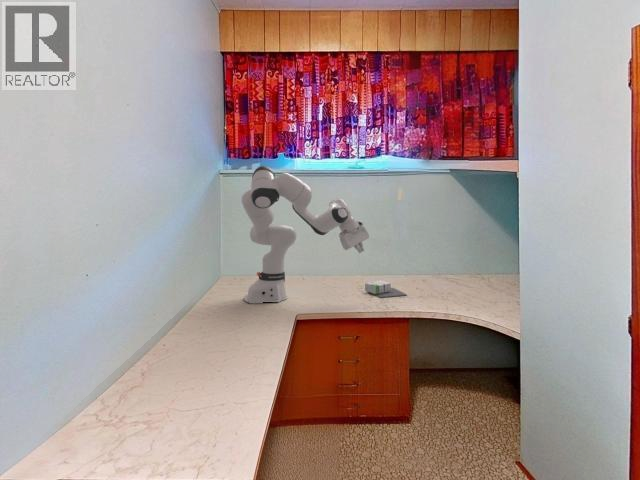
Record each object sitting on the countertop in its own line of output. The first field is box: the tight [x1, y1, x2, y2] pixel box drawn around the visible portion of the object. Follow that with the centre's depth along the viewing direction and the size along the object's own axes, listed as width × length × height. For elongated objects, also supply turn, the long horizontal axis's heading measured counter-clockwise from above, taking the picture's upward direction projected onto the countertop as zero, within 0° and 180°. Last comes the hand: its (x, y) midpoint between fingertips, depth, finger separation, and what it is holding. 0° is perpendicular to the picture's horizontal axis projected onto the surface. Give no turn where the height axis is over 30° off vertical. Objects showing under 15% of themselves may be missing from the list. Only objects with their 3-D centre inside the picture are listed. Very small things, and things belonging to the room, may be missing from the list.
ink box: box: [364, 279, 392, 295], centre depth 243 cm, size 9×5×12 cm
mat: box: [373, 287, 408, 299], centre depth 243 cm, size 16×16×1 cm
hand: (361, 252), depth 226 cm, fingers closed
